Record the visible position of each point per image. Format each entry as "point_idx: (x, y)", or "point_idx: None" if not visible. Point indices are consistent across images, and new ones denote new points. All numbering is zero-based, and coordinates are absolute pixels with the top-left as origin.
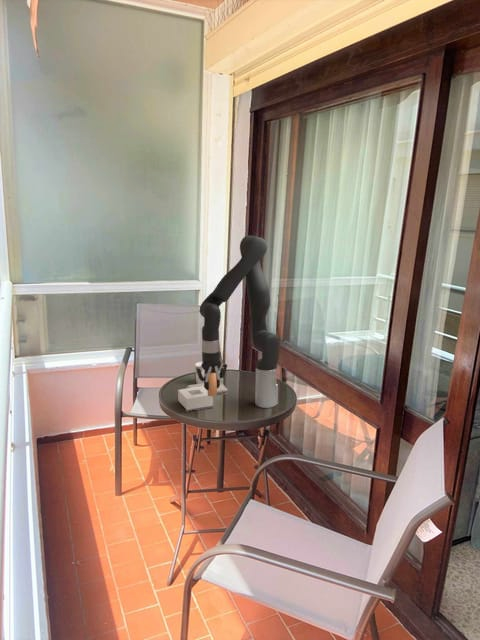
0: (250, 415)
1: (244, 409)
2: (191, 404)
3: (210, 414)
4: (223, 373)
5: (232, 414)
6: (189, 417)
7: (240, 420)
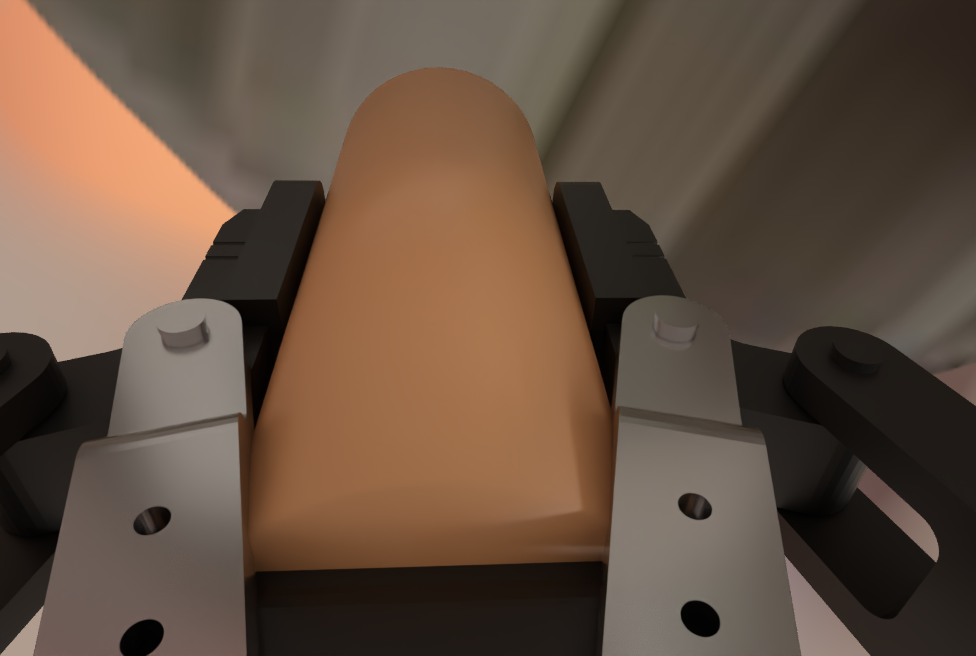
0: (789, 274)
1: (859, 105)
2: None
3: (399, 74)
4: (863, 593)
5: (646, 183)
6: (87, 49)
7: None
